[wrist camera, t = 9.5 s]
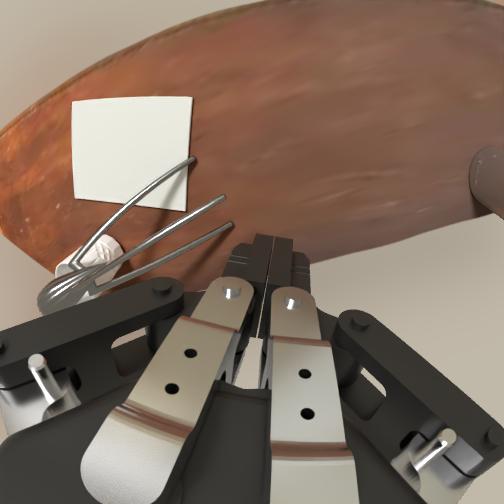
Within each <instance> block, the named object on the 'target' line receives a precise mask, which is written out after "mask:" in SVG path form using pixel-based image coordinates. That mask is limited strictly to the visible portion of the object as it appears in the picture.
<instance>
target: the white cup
mask: <svg viewBox="0 0 504 504" xmlns="http://www.w3.org/2000/svg"><path fill="white" fill-rule="evenodd" d="M81 247H82V246H81ZM81 247H80V248H81ZM80 248H79V249H80ZM79 249H77V250H76V251H75V252H74V253H72V254H71V255H70V256H68V257H67V258H66V259H65V260H63V261H62V262H61V263H60V264H58V266H57V267H56V278H58V277H60V276H62V275H64V274H67V273H70V272H72V271H74V270H72V269H71V268H70V267H69V266H68V263H69V262H70V261H71V259H72V258H73V257H74V256H75V254H76V253H77V252H78V251H79ZM122 254H123V251H122V249H121V247H120V245H119V244H118V243H117V241H116V240H115V239H114V238H112V237H110V236H108V235H102V236H101V237H100V238H99V239H98V241H97V242H96V243H95V244H94V245H93V246H92V247H91V248H90V250H89V251H88V252H87V253H86V254H85V256H84V257H83V258H82V259H81V261H80V263H81V264H83V265H84V266H85V267H89V266H93V265H97V264H101V263H106V262H107V263H106V265H107V264H109V263H110V262H112V261H113V260H115V259H116V258H118V257H119V256H121V255H122ZM122 264H123V263H121V264H120V265H118V266H117V267H115V268H113V269H112V270H110V271H108V272H107V273H105V274H103V275H102V276H100V277H99V278H97V279H96V280H95V283H96V286H98V285H101V284H103V283H106V282H108V281H111V279H112V278H113V277H114V275H115V274H116V272H117V271H118V270H119V269H120V267H121V266H122ZM106 265H105V266H106ZM100 294H101V292H100V293H98V294H95V295H93V296H89V294H88V291H87V292H86V293H85V294H84V296H83V297H82V298H81V299H80V301H79V302H78V303H77V304H80V303H83V302H85V301H88V300H91V299H94V298H97V297H98V296H99V295H100Z"/></svg>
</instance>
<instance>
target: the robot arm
mask: <svg viewBox="0 0 504 504" xmlns="http://www.w3.org/2000/svg"><path fill="white" fill-rule="evenodd" d="M469 182H470V188H471V191H472V193H473V195H474V197H475V198H476V199H477V201H478V202H480V203H481V204H483V205H484V206H486V207H487V208H488V209H490V210H491V211H492V212H494V213H495V214H496V215H498V216H499V217H500V218H502V219H503V220H504V150H503V149H500V148H497V147H486V148H484V149H482V150H481V151H480V152H479V153H478V154H477V155H476V156H475V158H474V160H473V162H472V165H471V168H470V174H469ZM273 239H274V236H269V235H263V234H256V236H255V239H254V242H253V245H251V244H245V243H241V244H239V245H238V246H236V247H235V248H234V249H233V251H232V254H231V256H230V258H229V261H228V263H227V265H226V267H225V270H224V272H223V274H222V277H221V278H218V279H216V280H214V281H213V282H212V283H211V284H210V286H209V287H208V289H207V290H206V291H201V292H184V286H183V285H182V284H181V282H179V281H178V280H176V279H173V278H169V277H156V278H152V279H149V280H146V281H143V282H140V283H137V284H135V285H132V286H129V287H126V288H123V289H120V290H117V291H114V292H111V293H108V294H106V295H103V296H100V297H97V298H94V299H91V300H88V301H85V302H83V303H80V304H77V305H74V306H71V307H68V308H65V309H62V310H60V311H57V312H54V313H51V314H48V315H45V316H42V317H40V318H37V319H34V320H31V321H28V322H26V323H23V324H20V325H17V326H14V327H11V328H9V329H6V330H3V331H0V408H1V412H2V416H3V420H4V423H5V427H6V430H7V434H8V438H7V439H6V440H5V441H3V443H2V444H1V445H0V504H457V503H458V501H459V500H460V499H461V498H462V496H463V495H464V493H465V492H466V491H467V489H468V488H469V486H470V485H471V484H472V482H473V481H474V480H475V479H476V478H477V477H479V476H480V475H482V474H483V473H484V472H485V471H487V470H488V469H490V468H491V467H492V466H494V465H495V464H496V463H497V462H499V461H500V460H501V459H502V458H503V457H504V428H503V427H502V426H501V425H500V424H499V423H498V422H497V421H495V420H494V419H493V418H492V417H491V416H490V415H489V414H488V413H486V412H485V411H484V410H483V409H482V408H481V407H480V406H479V405H477V404H476V403H475V402H474V401H473V400H471V398H470V397H468V396H467V395H466V394H465V393H464V392H463V391H461V390H460V389H459V388H458V387H457V386H456V385H455V384H453V383H452V382H451V381H450V380H449V379H448V378H446V377H445V376H444V375H443V374H442V373H440V372H439V371H438V370H437V369H436V368H435V367H433V366H432V365H431V364H430V363H428V361H426V360H425V359H424V358H423V357H422V356H420V355H419V354H418V353H417V352H416V351H414V350H413V349H412V348H411V347H410V346H408V345H407V344H406V343H405V342H404V341H402V340H401V339H400V338H399V337H397V336H396V335H395V334H394V333H393V332H392V331H390V330H389V329H388V328H387V327H385V326H384V325H383V324H382V323H381V322H379V321H378V320H377V319H376V318H374V317H373V316H372V315H370V314H368V313H366V312H364V311H360V310H346V311H344V312H342V313H341V314H340V315H339V318H337V317H335V316H332V315H329V314H327V313H325V312H323V311H321V310H320V309H318V308H317V307H316V303H315V300H314V298H313V296H312V295H311V291H310V290H311V289H310V269H309V268H310V264H309V259H308V258H307V257H306V255H305V254H304V253H300V252H294V251H292V249H293V239H287V238H281V237H275V242H274V248H273V253H272V259H271V264H270V258H271V252H272V246H273ZM269 264H270V270H269ZM268 271H269V275H268ZM267 277H268V281H267ZM266 282H267V286H266ZM265 288H266V293H265ZM264 293H265V298H264ZM263 298H264V305H263V311H262V317H261V322H260V329H259V334H258V338H260V339H263V345H262V349H261V355H260V366H259V380H258V389H242V388H239V387H236V386H234V384H235V381H236V378H237V375H238V373H239V369H240V367H241V364H242V361H243V358H244V355H245V350H246V347H247V345H248V343H249V338H250V337H254V338H256V334H257V329H258V324H259V319H260V314H261V308H262V303H263ZM143 327H145V330H146V335H144V336H141V337H139V338H136V339H134V340H132V341H129V342H127V343H124V344H122V345H119V346H117V347H115V348H112V349H111V346H112V344H113V342H114V341H115V340H116V339H117V338H119V337H121V336H124V335H126V334H129V333H131V332H134V331H136V330H139V329H141V328H143ZM363 367H364V368H365V369H366V370H367V371H368V372H369V373H370V374H371V375H372V376H374V377H375V378H376V379H377V380H378V381H379V382H380V383H381V384H382V385H383V387H384V388H385V391H386V397H385V396H384V395H383V394H382V393H381V392H380V391H379V390H378V389H377V388H376V387H375V386H374V385H373V384H372V383H371V382H370V381H368V380H367V379H366V378H365V377H364V376H363V375H362V374H361V373H360V372H361V371H362V369H363Z"/></svg>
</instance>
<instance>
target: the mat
mask: <svg viewBox="0 0 504 504" xmlns="http://www.w3.org/2000/svg"><path fill="white" fill-rule="evenodd" d="M192 103H193V97H125V98H107V99H94V100H84V101H74V102H72V161H73V179H74V192H75V198H79V199H88V200H98V201H106V202H115V203H124V204H125V203H127V202H128V201H129V200H130V199H131V198H133V197H134V196H135V195H136V194H137V193H139V192H140V191H141V190H143V189H144V188H145V187H147V186H148V185H149V184H151V183H152V182H153V181H155V180H156V179H157V178H159V177H160V176H162V175H163V174H165V173H166V172H168V171H169V170H171V169H172V168H174V167H175V166H177V165H178V164H180V163H181V162H183V161H185V160H186V159H188V156H189V140H190V127H191V114H192ZM187 175H188V165H187V166H186V167H184V168H183V169H181V170H180V171H179V172H177V173H176V174H174V175H173V176H171V177H170V178H169V179H167V180H166V181H164V182H163V183H162V184H160V185H159V186H158V187H156V188H155V189H154V190H153V191H151V192H150V193H149V194H147V195H146V196H145V197H144V198H142V199H141V200H140V201H139V202H138V203H136V204H135V205H140V206H148V207H156V208H164V209H172V210H179V211H186V198H187Z"/></svg>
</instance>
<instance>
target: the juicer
mask: <svg viewBox="0 0 504 504" xmlns="http://www.w3.org/2000/svg"><path fill="white" fill-rule="evenodd" d="M195 160H196V158H195V157H194V156H191V157H190V158H188V159H186V160H185V161H183V162H181V163H180V164H178V165H177V166H175V167H174V168H172V169H171V170H169V171H168V172H166V173H165V174H163V175H162V176H160V177H159V178H157V179H156V180H155V181H153V182H152V183H151V184H149V185H148V186H147V187H145V188H144V189H143V190H141V191H140V192H139V193H137V194H136V195H135V196H134V197H133V198H131V199H130V200H129V201H128V202H127V203H125V204H124V205H123V206H122V207H121V208H120V209H118V210H117V211H116V212H115V213H114V214H113V215H112V216H111V217H110V218H109V219H108V220H107V221H106V222H105V223H104V224H103V225H102V226H101V227H100V228H99V229H98V230H97V231H96V232H95V233H94V234H93V235H92V236H91V237H90V238H89V239H88V240H87V241H86V243H85V244H84V245H83V246H82V247H81V248H80V249H79V251H78V252H77V253H76V254H75V256H74V257H73V258H72V259H71V261H70V262H69V263H68V266H69V267H70V268H71V269H72V270H74V271H72V272H70V273H67V274H64V275H62V276H60V277H58V278H56V279H54V280H53V281H51V282H50V283H48V284H47V285H46V286H45V287H44V288H43V289H42V291H41V292H40V293H39V295H38V298H37V306H38V308H39V311H40V312H41V314H42V315H43V316H45V315H48V314H51V313H54V312H57V311H60V310H62V309H65V308H68V307H71V306H74V305H76V304H77V303H78V302H79V301H80V299H81V298H82V297H83V296H84V294H85V293H86V292H87V291H88V294H89V296H93V295H95V294H98V293H100V292H103V291H105V290H108V289H110V288H112V287H115V286H117V285H119V284H122V283H124V282H126V281H128V280H131V279H133V278H135V277H137V276H139V275H141V274H144V273H146V272H148V271H150V270H152V269H154V268H156V267H158V266H160V265H162V264H164V263H166V262H168V261H170V260H172V259H174V258H176V257H178V256H180V255H182V254H183V253H185V252H187V251H189V250H191V249H193V248H195V247H196V246H198V245H200V244H202V243H204V242H205V241H207V240H209V239H211V238H212V237H214V236H216V235H218V234H219V233H221V232H223V231H224V230H226V229H228V228H230V227H231V226H233V223H232V221H230V222H228V223H226V224H224V225H222V226H220V227H218V228H217V229H215V230H213V231H211V232H209V233H207V234H205V235H203V236H202V237H200V238H198V239H196V240H194V241H192V242H190V243H188V244H186V245H184V246H182V247H180V248H178V249H177V250H175V251H173V252H171V253H169V254H167V255H165V256H163V257H161V258H159V259H157V260H155V261H153V262H151V263H149V264H146V265H144V266H142V267H140V268H138V269H136V270H134V271H132V272H129V273H127V274H125V275H123V276H120V277H118V278H116V279H113V280H111V281H108V282H106V283H103V284H101V285H98V286H96V283H95V280H96V279H97V278H99V277H100V276H102V275H103V274H105V273H107V272H108V271H110V270H112V269H113V268H115V267H117V266H118V265H120V264H121V263H123V262H125V261H126V260H128V259H130V258H131V257H133V256H135V255H136V254H138V253H140V252H141V251H143V250H145V249H146V248H148V247H149V246H151V245H153V244H154V243H156V242H158V241H159V240H161V239H162V238H164V237H166V236H167V235H169V234H171V233H172V232H174V231H175V230H177V229H179V228H180V227H182V226H184V225H185V224H187V223H188V222H190V221H192V220H193V219H195V218H197V217H198V216H200V215H201V214H203V213H205V212H206V211H208V210H210V209H211V208H213V207H214V206H216V205H218V204H219V203H221V202H223V201H224V200H226V196H225V195H224V194H222V195H220V196H218V197H216V198H215V199H213V200H211V201H209V202H208V203H206V204H204V205H202V206H201V207H199V208H197V209H195V210H194V211H192V212H190V213H189V214H187V215H185V216H183V217H182V218H180V219H178V220H177V221H175V222H173V223H172V224H170V225H168V226H167V227H165V228H163V229H162V230H160V231H158V232H157V233H155V234H154V235H152V236H150V237H149V238H147V239H146V240H144V241H142V242H141V243H139V244H138V245H136V246H135V247H133V248H132V249H130V250H128V251H127V252H125V253H124V254H122V255H121V256H119V257H118V258H116V259H115V260H113V261H112V262H110V263H109V264H107V265H106V263H107V262H106V263H101V264H97V265H93V266H89V267H85V266H84V265H83V264H81V263H80V261H81V259H82V258H83V257H84V256H85V254H86V253H87V252H88V251H89V250H90V248H91V247H92V246H93V245H94V244H95V243H96V242H97V241H98V239H99V238H100V237H101V236H102V235H103V234H104V233H105V232H106V231H107V230H108V229H109V228H110V227H111V226H112V225H113V224H114V223H115V222H116V221H117V220H118V219H119V218H121V217H122V216H123V215H124V214H125V213H126V212H127V211H128V210H129V209H131V208H132V207H133V206H134V205H135V204H136V203H138V202H139V201H140V200H141V199H142V198H144V197H145V196H146V195H147V194H149V193H150V192H151V191H153V190H154V189H155V188H156V187H158V186H159V185H160V184H162V183H163V182H164V181H166V180H167V179H169V178H170V177H171V176H173V175H174V174H176V173H177V172H179V171H180V170H181V169H183V168H184V167H186V166H187V165H189V164H190V163H192V162H193V161H195ZM105 265H106V266H105Z"/></svg>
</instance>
